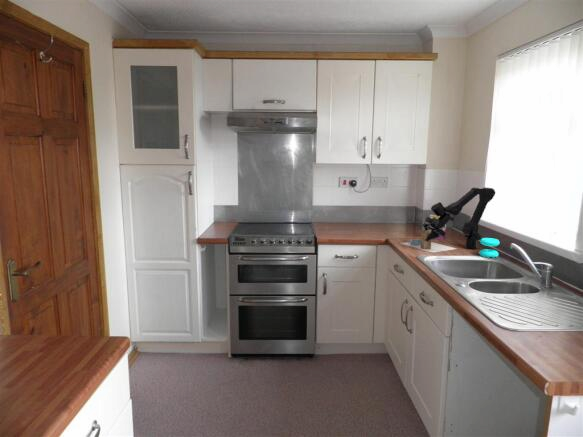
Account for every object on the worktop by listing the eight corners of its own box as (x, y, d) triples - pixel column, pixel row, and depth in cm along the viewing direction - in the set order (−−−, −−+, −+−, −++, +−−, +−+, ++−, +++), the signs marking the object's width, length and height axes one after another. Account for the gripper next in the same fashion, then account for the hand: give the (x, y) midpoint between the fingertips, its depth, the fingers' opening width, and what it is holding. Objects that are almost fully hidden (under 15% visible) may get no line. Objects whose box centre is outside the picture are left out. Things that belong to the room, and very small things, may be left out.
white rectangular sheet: (423, 241, 267) (424, 240, 267) (457, 250, 243) (457, 248, 243) (400, 244, 257) (400, 243, 257) (432, 254, 234) (432, 252, 234)
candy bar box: (428, 239, 276) (429, 215, 273) (427, 237, 280) (429, 214, 278) (445, 240, 273) (447, 216, 270) (444, 238, 277) (446, 215, 275)
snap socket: (422, 243, 258) (422, 240, 258) (423, 245, 251) (424, 242, 250) (409, 242, 260) (409, 239, 259) (411, 245, 252) (411, 242, 252)
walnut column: (427, 247, 246) (428, 230, 244) (430, 249, 242) (431, 231, 240) (420, 247, 245) (421, 230, 243) (424, 249, 241) (425, 231, 239)
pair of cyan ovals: (490, 241, 222) (476, 238, 231) (489, 259, 223) (475, 254, 233) (503, 240, 225) (489, 237, 235) (502, 257, 227) (488, 253, 236)
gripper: (426, 210, 250) (408, 228, 249) (442, 214, 231) (423, 233, 231) (436, 222, 252) (419, 239, 252) (453, 227, 234) (435, 246, 234)
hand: (424, 239), depth 242 cm, fingers open, 5 cm apart
